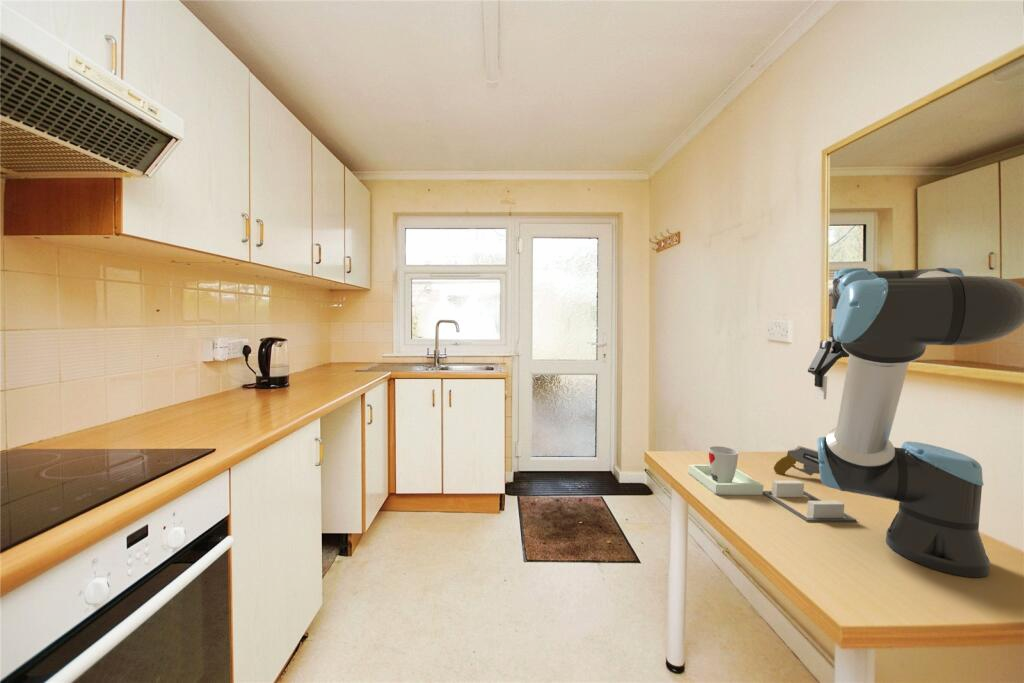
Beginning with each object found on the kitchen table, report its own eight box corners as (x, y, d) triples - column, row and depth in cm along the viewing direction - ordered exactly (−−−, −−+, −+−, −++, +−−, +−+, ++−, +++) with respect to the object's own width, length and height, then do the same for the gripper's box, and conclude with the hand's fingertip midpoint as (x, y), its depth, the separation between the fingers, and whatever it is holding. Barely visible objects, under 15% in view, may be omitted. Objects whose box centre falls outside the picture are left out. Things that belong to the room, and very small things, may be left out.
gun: (857, 513, 122) (883, 471, 119) (773, 472, 129) (795, 433, 127) (853, 508, 125) (877, 468, 122) (770, 469, 132) (792, 430, 130)
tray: (762, 494, 113) (763, 484, 113) (715, 494, 113) (716, 484, 113) (729, 473, 129) (730, 464, 129) (688, 473, 129) (688, 464, 129)
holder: (856, 521, 99) (857, 506, 98) (806, 521, 98) (807, 506, 98) (803, 492, 116) (804, 479, 115) (760, 492, 115) (761, 479, 115)
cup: (707, 475, 127) (708, 444, 126) (735, 479, 123) (737, 448, 123) (707, 484, 119) (708, 451, 119) (737, 489, 116) (739, 456, 115)
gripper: (877, 324, 114) (873, 396, 115) (795, 323, 113) (791, 395, 114) (904, 325, 107) (899, 401, 108) (816, 323, 106) (812, 400, 107)
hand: (843, 398), depth 111 cm, fingers open, 13 cm apart
